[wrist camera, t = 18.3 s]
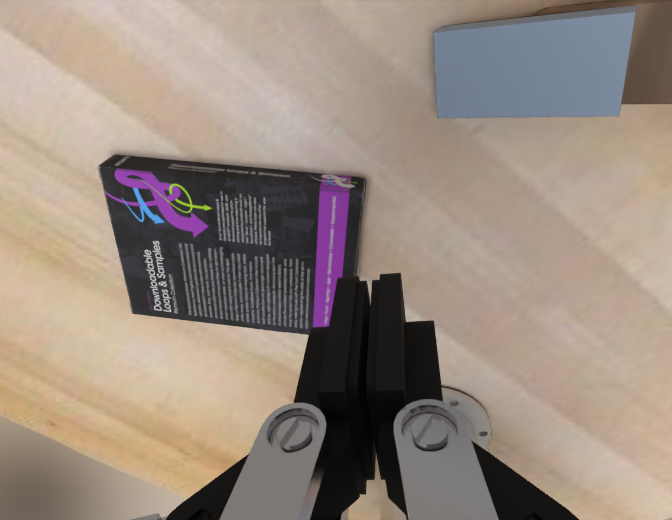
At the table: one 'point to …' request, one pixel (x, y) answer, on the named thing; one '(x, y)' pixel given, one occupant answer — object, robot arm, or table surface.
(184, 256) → the box
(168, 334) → the table surface
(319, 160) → the table surface
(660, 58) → the domino
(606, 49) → the domino
